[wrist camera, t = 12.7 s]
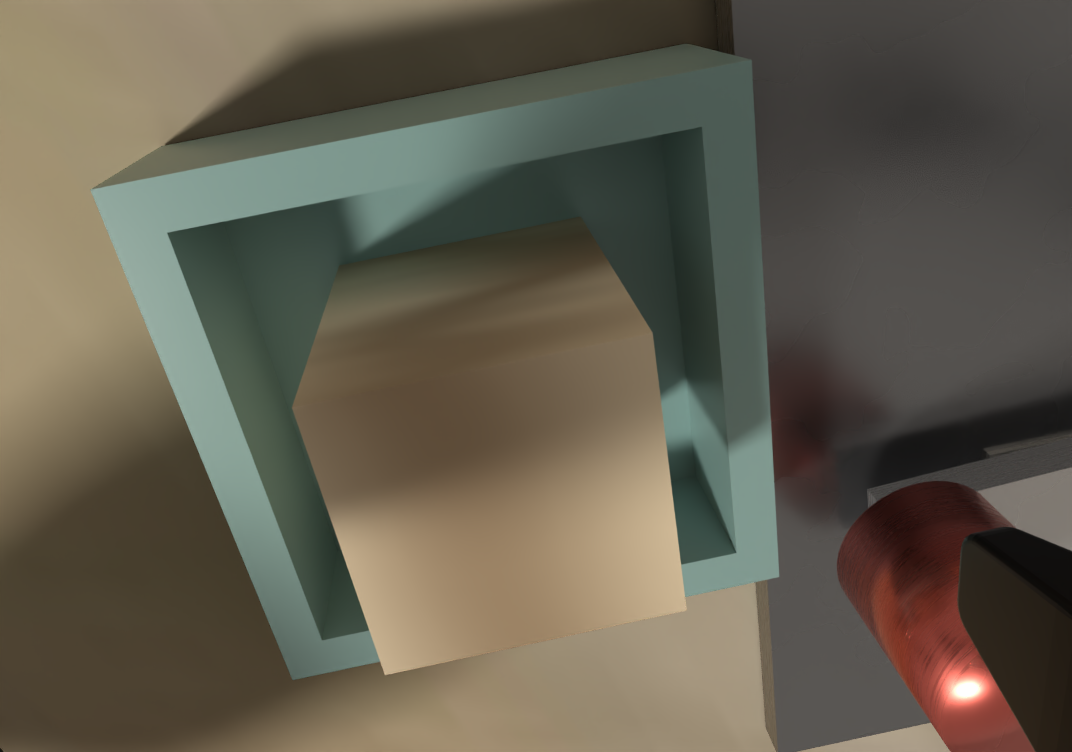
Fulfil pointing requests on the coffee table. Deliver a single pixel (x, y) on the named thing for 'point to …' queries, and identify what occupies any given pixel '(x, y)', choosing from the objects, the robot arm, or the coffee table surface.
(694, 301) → the tray
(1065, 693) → the robot arm
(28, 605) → the coffee table surface
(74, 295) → the coffee table surface
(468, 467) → the block
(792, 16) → the bedplate
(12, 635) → the coffee table surface
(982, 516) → the crank
